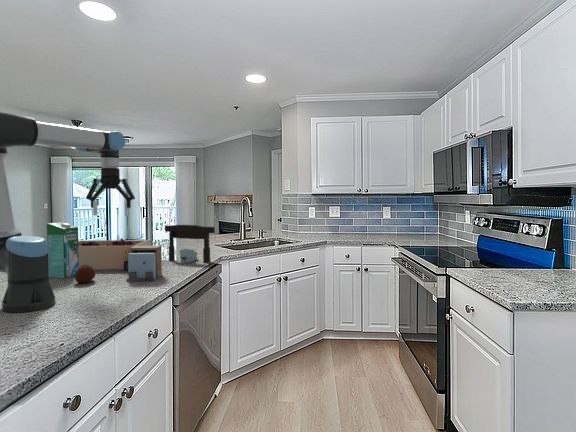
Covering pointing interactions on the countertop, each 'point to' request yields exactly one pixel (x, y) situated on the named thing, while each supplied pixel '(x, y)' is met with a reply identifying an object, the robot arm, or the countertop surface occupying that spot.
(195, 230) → the stool
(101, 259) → the planter tray
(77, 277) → the potato
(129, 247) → the ammunition clip
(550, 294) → the countertop surface
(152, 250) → the cabinet
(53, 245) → the milk carton
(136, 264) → the block
